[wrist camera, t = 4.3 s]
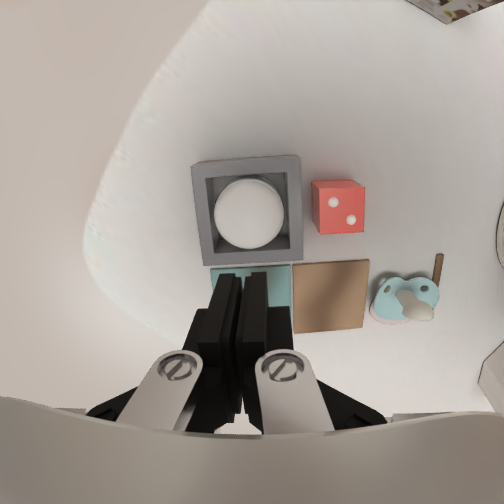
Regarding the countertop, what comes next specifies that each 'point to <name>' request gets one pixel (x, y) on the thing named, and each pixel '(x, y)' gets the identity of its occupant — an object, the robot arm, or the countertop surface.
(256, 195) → the popper dome
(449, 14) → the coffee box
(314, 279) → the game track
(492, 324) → the countertop surface
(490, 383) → the soap bottle
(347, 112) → the countertop surface
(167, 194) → the countertop surface
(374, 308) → the pacifier
